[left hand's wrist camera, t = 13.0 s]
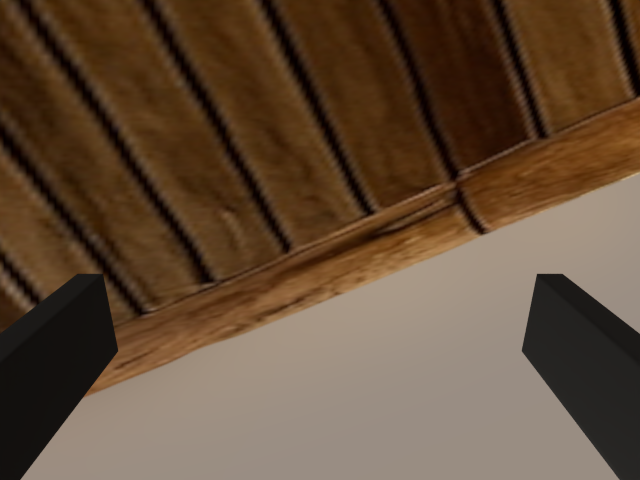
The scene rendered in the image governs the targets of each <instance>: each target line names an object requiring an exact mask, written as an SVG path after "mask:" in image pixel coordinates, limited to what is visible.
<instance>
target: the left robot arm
mask: <svg viewBox="0 0 640 480" xmlns="http://www.w3.org/2000/svg"><path fill="white" fill-rule="evenodd" d="M117 352H118V347H117V342H116V337H115V332H114V327H113V322H112V317H111V312H110V307H109V302H108V297H107V292H106V287H105V282H104V277H103V274H77V275H76V276H74V277H73V278H72V279H70V280H69V281H68V282H67V283H65V284H64V285H63V286H61V287H60V288H59V289H57V290H56V291H55V292H54V293H52V294H51V295H50V296H48V297H47V298H46V299H45V300H43V301H42V302H41V303H39V304H38V305H37V306H36V307H34V308H33V309H32V310H30V311H29V312H28V313H27V314H25V315H24V316H23V317H21V318H20V319H19V320H18V321H16V322H15V323H14V324H12V325H11V326H10V327H8V328H7V329H6V330H5V331H3V332H2V333H1V334H0V480H20V479H21V478H22V477H23V476H24V474H25V473H26V472H27V470H28V469H29V468H30V466H31V465H32V464H33V462H34V461H35V460H36V458H37V457H38V456H39V454H40V453H41V452H42V451H43V449H44V448H45V447H46V445H47V444H48V443H49V441H50V440H51V439H52V437H53V436H54V435H55V433H56V432H57V431H58V430H59V428H60V427H61V426H62V424H63V423H64V422H65V420H66V419H67V418H68V416H69V415H70V414H71V412H72V411H73V410H74V409H75V407H76V406H77V405H78V403H79V402H80V401H81V399H82V398H83V397H84V395H85V394H86V393H87V391H88V390H89V389H90V387H91V386H92V385H93V384H94V382H95V381H96V380H97V378H98V377H99V376H100V374H101V373H102V372H103V370H104V369H105V368H106V366H107V365H108V364H109V363H110V361H111V360H112V359H113V357H114V356H115V355H116V353H117ZM522 352H523V353H524V355H525V356H526V357H527V359H528V360H529V361H530V362H531V364H532V365H533V366H534V368H535V369H536V370H537V372H538V373H539V374H540V376H541V377H542V378H543V380H544V381H545V382H546V384H547V385H548V386H549V387H550V389H551V390H552V391H553V393H554V394H555V395H556V397H557V398H558V399H559V401H560V402H561V403H562V405H563V406H564V407H565V408H566V410H567V411H568V412H569V414H570V415H571V416H572V418H573V419H574V420H575V422H576V423H577V424H578V426H579V427H580V428H581V430H582V431H583V432H584V433H585V435H586V436H587V437H588V439H589V440H590V441H591V443H592V444H593V445H594V447H595V448H596V449H597V451H598V452H599V453H600V454H601V456H602V457H603V458H604V460H605V461H606V462H607V464H608V465H609V466H610V468H611V469H612V470H613V471H614V473H615V474H616V476H617V477H618V478H619V479H620V480H640V334H639V333H638V332H637V331H635V330H634V329H633V328H632V327H630V326H629V325H628V324H626V323H625V322H624V321H622V320H621V319H620V318H619V317H617V316H616V315H615V314H613V313H612V312H611V311H610V310H608V309H607V308H606V307H604V306H603V305H602V304H601V303H599V302H598V301H597V300H595V299H594V298H593V297H592V296H590V295H589V294H588V293H586V292H585V291H584V290H582V289H581V288H580V287H579V286H577V285H576V284H575V283H573V282H572V281H571V280H569V279H568V278H567V277H566V276H564V275H563V274H537V277H536V282H535V287H534V292H533V297H532V302H531V307H530V312H529V317H528V322H527V327H526V333H525V337H524V342H523V347H522Z"/></svg>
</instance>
